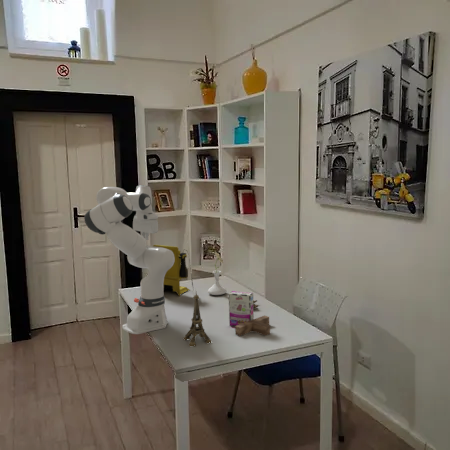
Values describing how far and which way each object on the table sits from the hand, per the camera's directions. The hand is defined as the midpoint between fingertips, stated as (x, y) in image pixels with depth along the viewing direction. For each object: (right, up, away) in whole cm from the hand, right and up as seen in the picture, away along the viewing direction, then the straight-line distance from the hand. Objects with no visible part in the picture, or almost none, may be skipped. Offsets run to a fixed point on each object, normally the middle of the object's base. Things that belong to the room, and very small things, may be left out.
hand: (145, 239), depth 251 cm
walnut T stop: (+60, -42, -38) cm, 82 cm away
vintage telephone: (+13, -33, +28) cm, 45 cm away
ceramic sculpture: (+54, -37, -3) cm, 66 cm away
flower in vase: (+39, -33, +23) cm, 57 cm away
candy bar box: (+52, -41, -30) cm, 73 cm away
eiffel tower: (+32, -44, -47) cm, 72 cm away
